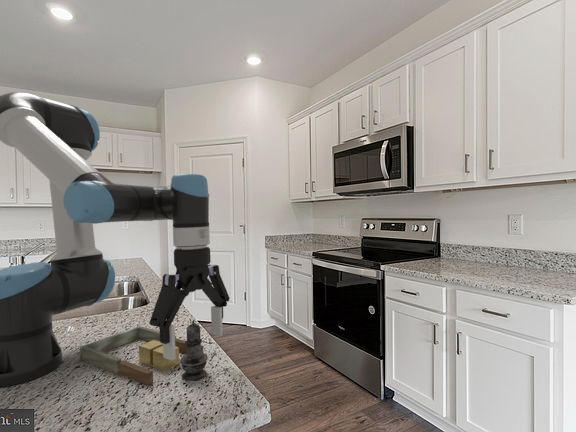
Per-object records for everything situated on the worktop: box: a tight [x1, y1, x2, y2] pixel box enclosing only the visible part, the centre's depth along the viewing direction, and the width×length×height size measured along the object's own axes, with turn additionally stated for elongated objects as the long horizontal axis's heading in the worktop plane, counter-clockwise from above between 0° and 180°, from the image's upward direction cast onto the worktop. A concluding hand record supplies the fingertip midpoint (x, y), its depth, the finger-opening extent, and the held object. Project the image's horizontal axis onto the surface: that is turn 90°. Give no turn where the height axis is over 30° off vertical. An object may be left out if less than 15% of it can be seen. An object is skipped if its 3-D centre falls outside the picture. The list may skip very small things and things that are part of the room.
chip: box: [138, 340, 163, 367], centre depth 77 cm, size 4×4×4 cm
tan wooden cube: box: [152, 346, 180, 372], centre depth 75 cm, size 4×4×4 cm
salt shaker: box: [179, 319, 209, 382], centre depth 70 cm, size 6×6×12 cm
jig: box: [79, 325, 204, 386], centre depth 79 cm, size 16×25×3 cm, turn 60°
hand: (195, 345), depth 70 cm, fingers open, 13 cm apart
